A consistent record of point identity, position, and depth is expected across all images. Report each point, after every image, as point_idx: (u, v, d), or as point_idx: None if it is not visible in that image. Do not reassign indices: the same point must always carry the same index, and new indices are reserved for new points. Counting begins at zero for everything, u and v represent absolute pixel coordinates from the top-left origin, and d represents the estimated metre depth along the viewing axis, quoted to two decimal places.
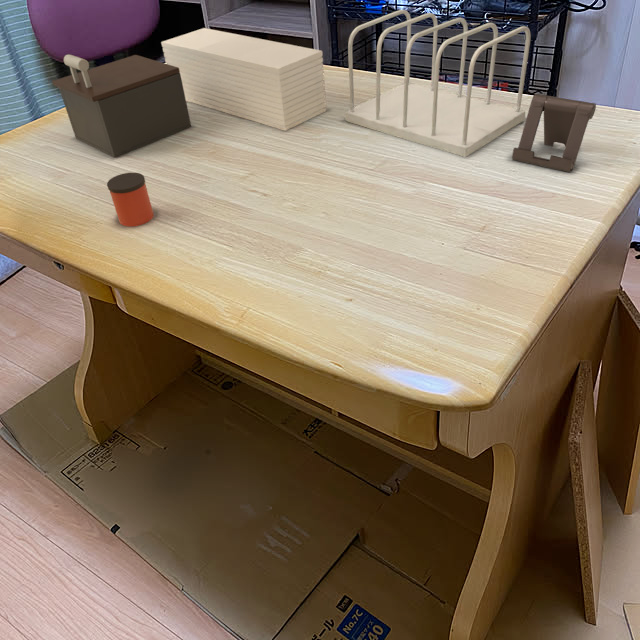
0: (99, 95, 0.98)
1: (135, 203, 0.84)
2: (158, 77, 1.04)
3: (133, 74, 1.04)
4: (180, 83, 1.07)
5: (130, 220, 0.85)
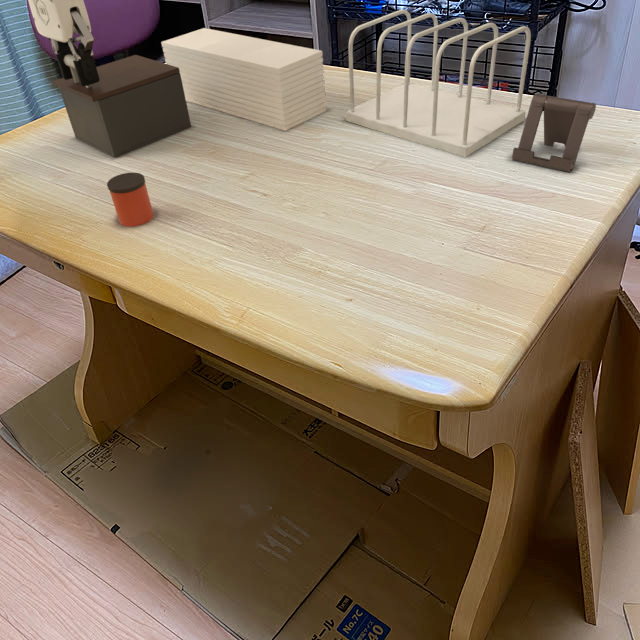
0: (99, 95, 0.98)
1: (135, 203, 0.84)
2: (158, 77, 1.04)
3: (133, 74, 1.04)
4: (180, 83, 1.07)
5: (130, 220, 0.85)
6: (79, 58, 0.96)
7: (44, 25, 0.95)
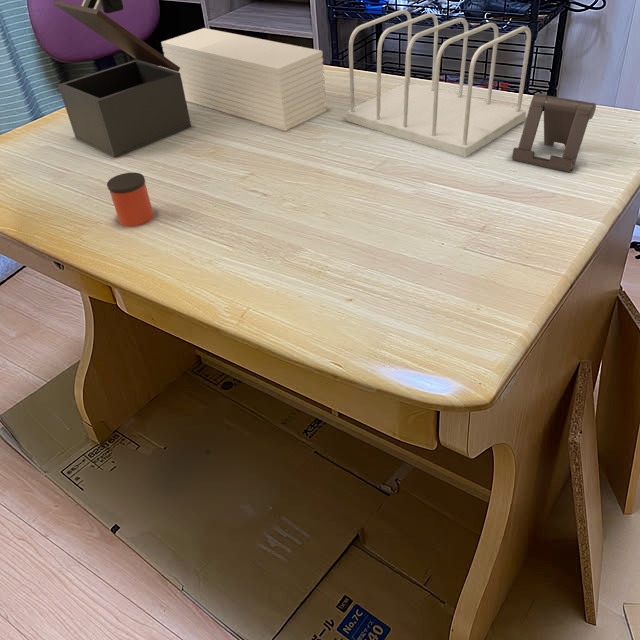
0: (105, 15, 0.94)
1: (135, 203, 0.84)
2: (160, 56, 1.03)
3: None
4: (180, 83, 1.07)
5: (130, 220, 0.85)
6: None
7: None
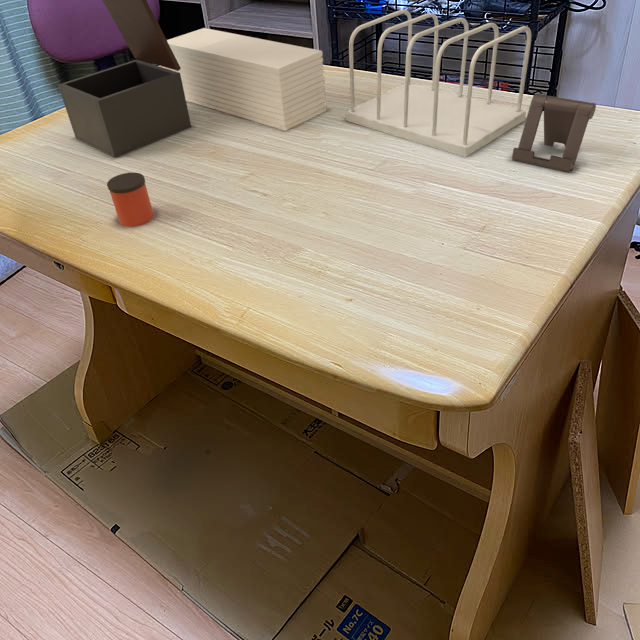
0: None
1: (135, 203, 0.84)
2: (167, 46, 1.03)
3: None
4: (180, 83, 1.07)
5: (130, 220, 0.85)
6: None
7: None
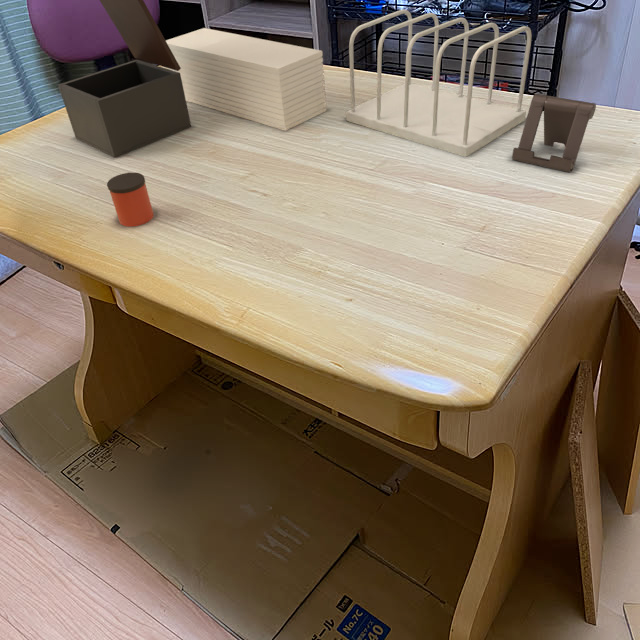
0: None
1: (135, 203, 0.84)
2: (166, 47, 1.03)
3: None
4: (180, 83, 1.07)
5: (130, 220, 0.85)
6: None
7: None
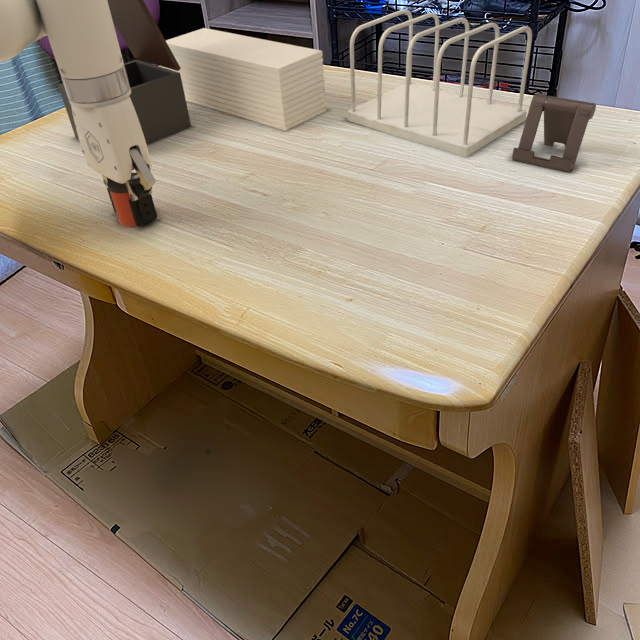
0: None
1: None
2: (166, 47, 1.03)
3: None
4: (180, 83, 1.07)
5: (130, 220, 0.85)
6: (136, 198, 0.82)
7: (96, 161, 0.81)
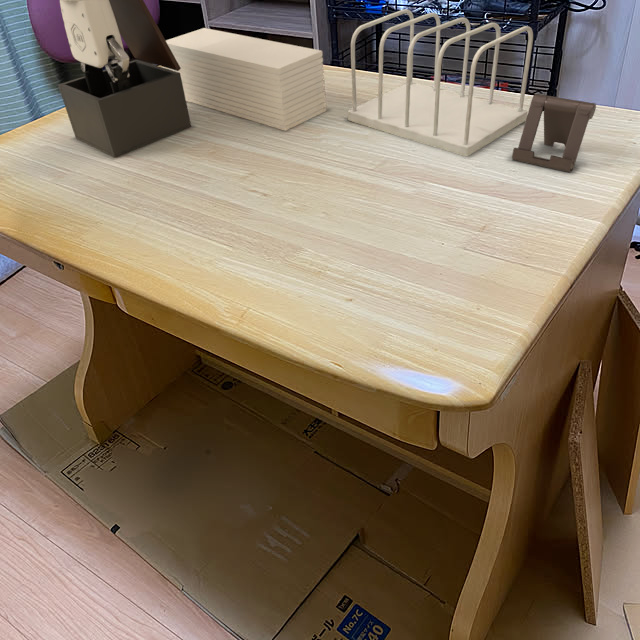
0: None
1: None
2: (166, 47, 1.03)
3: None
4: (180, 83, 1.07)
5: None
6: (116, 80, 1.00)
7: (80, 51, 1.01)
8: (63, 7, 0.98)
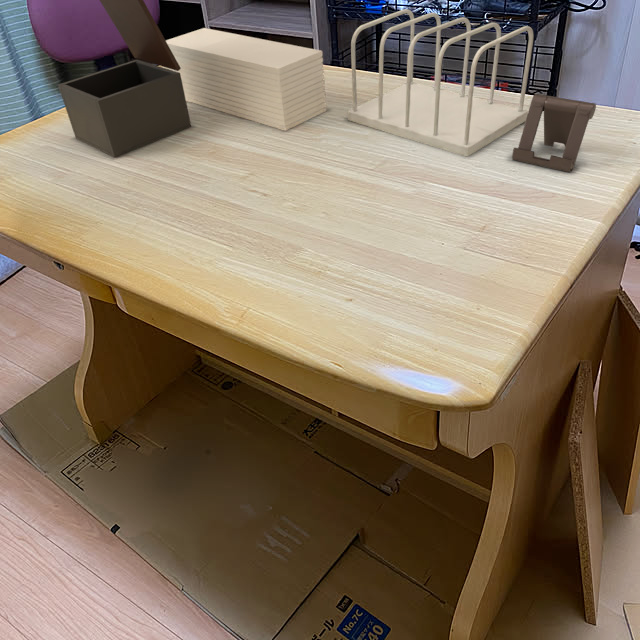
0: None
1: None
2: (166, 47, 1.03)
3: None
4: (180, 83, 1.07)
5: None
6: None
7: None
8: None
